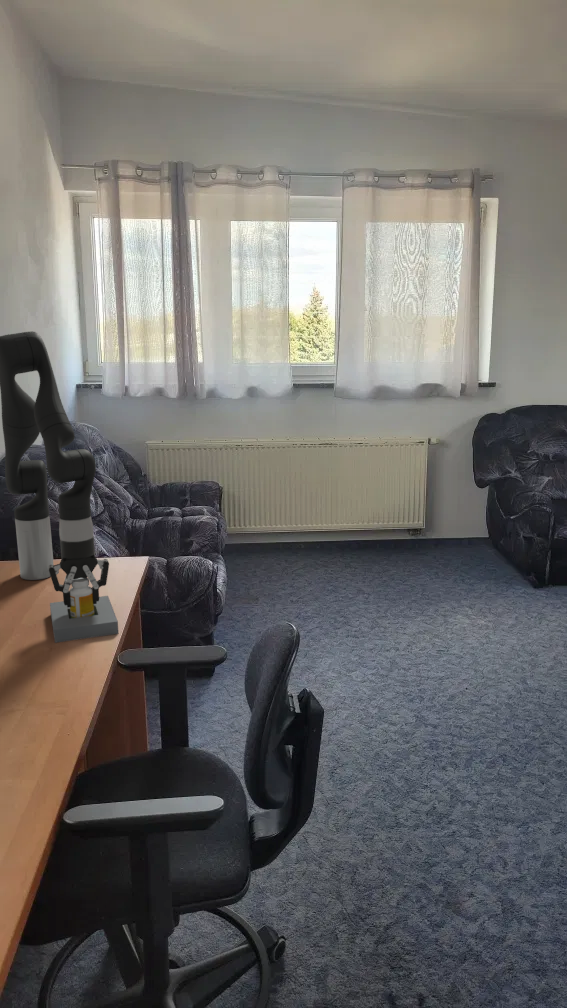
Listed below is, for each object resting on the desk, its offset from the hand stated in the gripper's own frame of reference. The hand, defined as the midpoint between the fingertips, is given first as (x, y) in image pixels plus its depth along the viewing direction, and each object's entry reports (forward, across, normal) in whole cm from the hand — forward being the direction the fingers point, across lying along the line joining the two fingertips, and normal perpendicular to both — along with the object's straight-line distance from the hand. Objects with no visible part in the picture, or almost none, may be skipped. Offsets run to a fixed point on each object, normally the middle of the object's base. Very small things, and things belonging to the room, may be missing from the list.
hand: (81, 604), depth 171 cm
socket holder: (+5, 0, 0) cm, 5 cm away
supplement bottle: (+4, 0, 0) cm, 4 cm away
